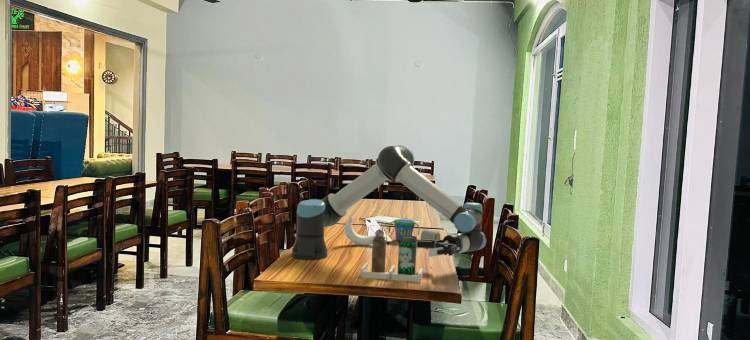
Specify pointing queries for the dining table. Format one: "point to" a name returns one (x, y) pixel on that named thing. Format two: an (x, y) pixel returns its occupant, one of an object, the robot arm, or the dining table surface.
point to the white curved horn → (355, 237)
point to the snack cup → (403, 227)
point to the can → (407, 255)
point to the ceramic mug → (430, 234)
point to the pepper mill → (378, 252)
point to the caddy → (390, 274)
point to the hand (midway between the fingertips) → (416, 249)
